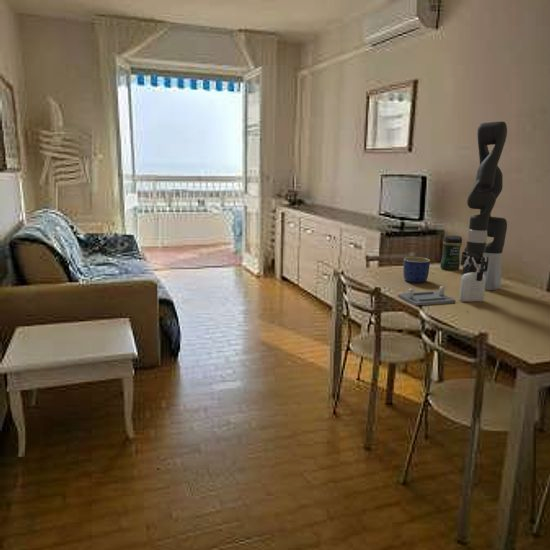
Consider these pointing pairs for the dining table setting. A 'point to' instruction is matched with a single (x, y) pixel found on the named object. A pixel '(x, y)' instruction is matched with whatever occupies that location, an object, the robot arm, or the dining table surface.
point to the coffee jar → (451, 252)
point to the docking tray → (426, 297)
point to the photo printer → (472, 287)
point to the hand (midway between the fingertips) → (472, 278)
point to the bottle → (472, 267)
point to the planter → (416, 269)
